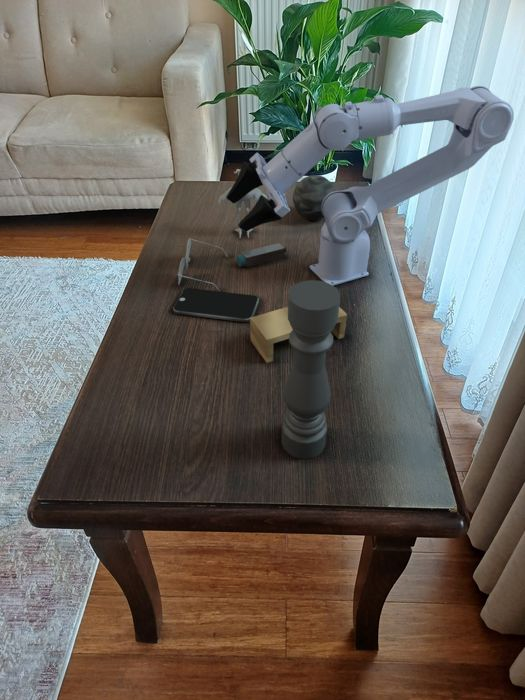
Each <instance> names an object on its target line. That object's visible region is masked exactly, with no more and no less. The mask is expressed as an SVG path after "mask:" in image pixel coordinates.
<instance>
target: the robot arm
mask: <svg viewBox="0 0 525 700" xmlns="http://www.w3.org/2000/svg"><path fill="white" fill-rule="evenodd" d="M514 112H515V111H514V109H513V107H512V105H511V104H510V103H509V102H507V101H505V100H503V99H501V98H499V97H498V96H497V95H495V94H494V93H493V92H492V91H491V90H490V89H489V88H487V87H486V86H483V85H474V86H472V87H459V88H456V89H454V90H452V91H447V92H443V93H439V94H434V95H429V96H425V97H421V98H416V99H412V100H408V101H403V102H399V103H397V102H395V101H393V99H391V98H390V97H384V96H383V95H382V94H376V95H374V96H373V99H371V100H367V101H361V102H355V103H353V102H352V101H346V102H344V106H342V105H339V104H337V103H329V104H326V105H324V106H319V107H318V109H316V111H315V113H314V116H313V120H312V122H311V123H310V124H308V126H306V127H305V128H304V129H303V130H302V131H301V132H299V133H298V134H297V135H296V136H295V137H294V138H293V139H292V140H291V141H290V142H288V143H287V145H285V146H284V147H283V148H282V149H281V150H280V151H279V152H278V153H277V154H276V155H275V156H273V157H272V158H271V159H270V160H269V161H268V162H266V160H265V158H264V157H263V156H262V155H261V154H259V152H256V153H255V154H253V155H252V156H251V157H250V158H249V161H250V163H248V162H247V161H244V162H243V163H242V164H241V167H240V169H241V170H240V169H239V170H240V173H239V175H238V174H237V177H236V180H235V181H234V183H233V185H232V186H233V187H232V186H231V187H232V188H231V187H230V188H231V190H230V191H229V193H228V194H227V196H226V198H227V199H228V200H229V202H230V203H231V202H232V203H233V204H236V202H238V201H239V200H240V199H242V198H243V197H244V196H245V195H246V194H248V193H249V192H251V191H252V190H254V189H255V188H257V189H258V188H260V187H262V186H263V188H264V190H265V191H266V194H267V195H268V196H267V197H268V198H267V199H266V198H265V197H264V196H263V195H261V196H260V197H259V199H258V201H257V200H256V201H257V203H256V202H255V204H254V206H253V207H252V209H250V212H249V213H248V214H247V213H246V215H245V216H244V217H243V218H242V219H240V223H239V222H238V224H237V225H238V228H241V229H242V231H244V232H245V233H247V231H248V230H250V229H254V228H257V227H259V226H261V225H264V224H267V223H271V222H275V221H280V220H282V219H283V217H285V216H286V215H287V214H288V213H289V212H290V211H291V209H290V207H289V205H288V201H287V198H286V192H287V191H288V190H290V188H292V187H293V185H295V184H296V183H297V182H298V181H299V180H300V179H303V177H304V176H305V175H306V174H307V173H308V172H309V171H311V170H312V169H313V168H314V167H316V165H317V164H319V163H320V162H322V160H323V159H324V158H325V157H326V156H328V155H329V154H330V153H331V152H332V151H334V150H339V151H342V150H344V149H346V148H347V147H348V146H349V145H350V144H351V143H352V142H356V141H363V140H368V139H374V138H379V137H385V136H391V135H393V133H394V132H395V131H396V130H397V129H398V127H401V126H408V125H415V124H425V123H431V122H440V121H448V122H451V123H452V124H453V128H452V133H451V135H450V138H449V141H448V143H447V144H446V145H444V146H442V147H440V148H438V149H436V150H435V151H433V152H431V153H429V154H427V155H425V156H423V157H420V158H419V159H417V160H415V161H413V162H411V163H409V164H407V165H405V166H403V167H401V168H399V169H398V170H395V171H393V172H391V173H389V174H388V175H385V176H384V177H382V178H380V179H378V180H376V181H374V182H371V183H370V184H368V185H366V186H359V185H358V186H357V185H356V186H351V187H349V188H347V189H342V190H335V191H333V192H331V193H329V194H328V195H327V196H326V197H325V198H324V200H323V202H322V205H321V210H322V213H323V215H324V220H325V221H324V223H323V225H322V226H321V228H320V238H319V251H318V263H313V264H310V265H309V269H310V270H311V271H312V272H313V273H314V274H315V275H316V276H317V277H318V278H319V279H320V281H322V282H326V283H329V284H331V285H332V286H334V287H335V286H337V285H340V284H344V283H347V282H350V281H354V280H358V279H361V278H364V277H368V276H369V275H370V273H369V272H368V264H369V256H370V252H371V239H370V235H369V234H368V231H366V230H367V229H368V228H371V227H372V226H373V224H374V222H375V220H376V217H377V216H378V214H381V213H382V212H384V211H386V210H388V209H390V208H392V207H395V206H397V205H399V204H401V203H402V202H405V201H407V200H409V199H411V198H412V197H415V196H418V195H419V194H421V193H423V192H426V191H427V190H429V189H431V188H433V187H435V186H438V185H440V184H441V183H443V182H445V181H447V180H449V179H451V178H454V177H456V176H457V175H459V174H462V173H463V172H465V171H467V170H470V169H471V168H473V167H474V166H475V165H476V164H477V163H478V162H479V161H480V160H481V159H482V158H483V157H484V156H485V155H486V154H487V153H488V152H489V151H490V150H491V148H492V147H494V146H496V145H498V144H500V143H503V142H504V141H505V140H506V138H507V136H508V134H509V131H510V129H511V127H512V125H513V122H514V117H515V113H514ZM232 203H231V204H232Z"/></svg>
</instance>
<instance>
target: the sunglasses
mask: <svg viewBox="0 0 525 700" xmlns="http://www.w3.org/2000/svg"><path fill="white" fill-rule="evenodd" d="M192 241H194V242H197V243H201V244H204V245H208V246H213V247H215V248H218V249H221V250H222V251H223V252H224V254H225V257H226V258H228V257H229V255H228V254H227V252H226V251H225V250H224V248H222V247H220V246H217V245H213V244H210V243H207V242H203V241H201V240H196V239H193V238H191V237H189V239H188V240H187V244H186V251H185V256H184V257H181V260H180V263H179V266H178V267H179V268H178V272H177V276H178V277H177V285H180V284H181V281H182V278H186V279H190V280H193V281H200V282H202V279H198V278H193V277H190V276H185V275H183V273H184V269H185V271H186V270H188V269H189V263H190V262H191V260H192V259H191V257H190V252H191V245H192ZM203 283H206V284H211V285H213V286H214V287H215V288H216V290H217V292H221V290H220V289H219V288H218V286H217V285H216V284H215V283H214V282H210V281H206V280H203Z"/></svg>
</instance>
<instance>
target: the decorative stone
mask: <svg viewBox="0 0 525 700" xmlns="http://www.w3.org/2000/svg"><path fill="white" fill-rule="evenodd" d="M333 191H336V189H335V186H334V185H333V183H332V182H331V181H330V180H329V179H328V178H327V177H325V176H322V175H318V174H312V175H308V176H306V177H304V178H301V180H300V181H299V182H298V183H297V184H296V185H295V188H294V190H293V194H292V204H293V207H294V209H295V211H296V212H297V213H298V214H299V215H300V216H301V217H302V218H304V219H307V220H311V221H319V220H321V219H323V218H324V219H325V217H324V215H323V213H322V210H321V205H322V202H323V200H324V198H325V197H326V196H327V195H328V194H329V193H331V192H333Z"/></svg>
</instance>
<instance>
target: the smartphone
mask: <svg viewBox="0 0 525 700" xmlns="http://www.w3.org/2000/svg"><path fill="white" fill-rule="evenodd" d="M259 301H260V299H259V296H258V297H257V296H256V295H252V294H244V293H243V294H242V293H235V292H234V293H233V292H225V291H218V290H217V291H215V290H209V289H198V288H191V287H190V288H185V289H183V290H182V291H181V293H180V295H179V297H178V298H177V300H176V302H175V304H174V306H173V307H172V309H173V310H172V311H173V313H174V314H177V315H184V316H192V317H200V318H206V319H207V318H209V319H214V320H215V319H216V320H223V321H224V320H225V321H232V322H240V323H248V322H249V323H250V318H251V317H255V313H256V311H257V308H258V305H259Z"/></svg>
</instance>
